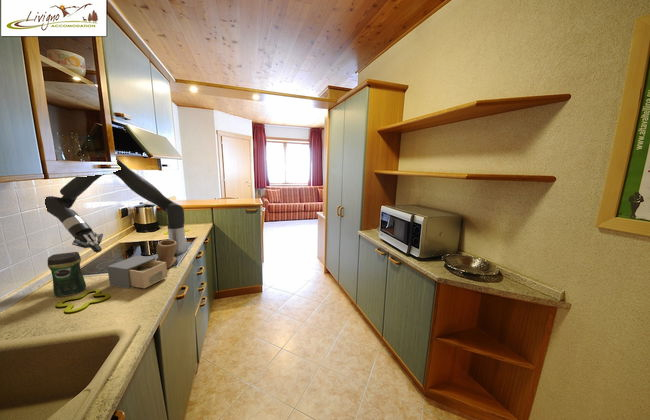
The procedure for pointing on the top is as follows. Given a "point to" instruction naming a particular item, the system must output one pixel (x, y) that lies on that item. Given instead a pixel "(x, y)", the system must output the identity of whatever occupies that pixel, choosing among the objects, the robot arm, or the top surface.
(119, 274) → the sleeve
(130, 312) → the top surface
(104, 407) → the top surface
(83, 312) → the top surface
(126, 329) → the top surface
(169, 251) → the stone cup
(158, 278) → the tray
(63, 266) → the coffee jar
